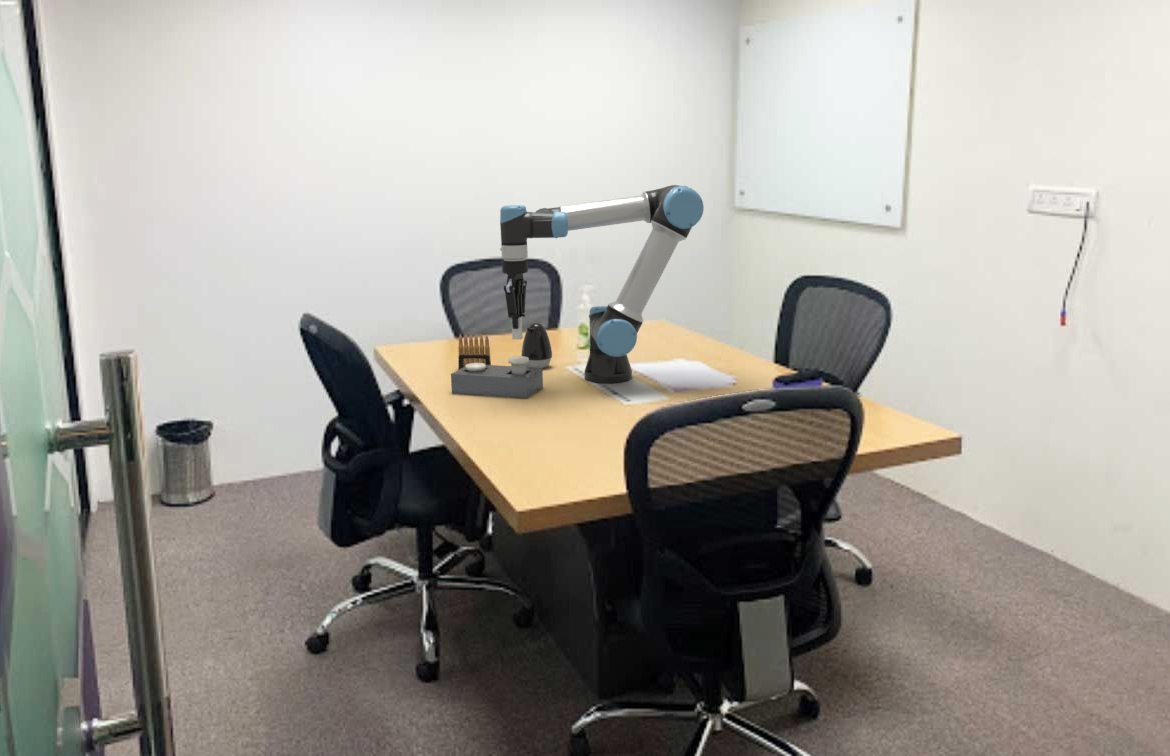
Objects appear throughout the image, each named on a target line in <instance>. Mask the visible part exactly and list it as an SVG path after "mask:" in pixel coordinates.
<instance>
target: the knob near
mask: <svg viewBox="0 0 1170 756" xmlns="http://www.w3.org/2000/svg"><path fill="white" fill-rule="evenodd" d="M528 362H529V358H528V357H525V356H520V355H518V356H517V355H516V356H510V357H508V364H510V366H511V370H512V374H514V375H526V367H527V366H526V363H528Z"/></svg>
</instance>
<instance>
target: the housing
mask: <svg viewBox="0 0 1170 756" xmlns="http://www.w3.org/2000/svg"><path fill="white" fill-rule="evenodd" d="M543 369H544V368H531V367H527V366H526V375H514V374H512V370H511V365H497V364H496V365H495V364H491V365H486V369H485V370H483V372H469V371H468V370H466V366H465V367H463V368H461V369H459V370H458V369H457V370H456V371H453V372H452V373H450V384H451V385H450V386H451V394H456V395H471V396H483V397H486V396H487V397H498V398H513V399H528V398H530V397H531V396H532V395H534V394H536V393H537V392H539V391H540V390H541V389H542V388H544V379H543V378H544V374H543V372H544V371H543Z"/></svg>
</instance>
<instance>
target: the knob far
mask: <svg viewBox="0 0 1170 756" xmlns="http://www.w3.org/2000/svg"><path fill="white" fill-rule="evenodd" d="M485 369H486V365H485V364H484V363H475V362H474V363H470V364H466V370H468V371H469V372H483V370H485Z"/></svg>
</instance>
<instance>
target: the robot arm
mask: <svg viewBox="0 0 1170 756" xmlns="http://www.w3.org/2000/svg"><path fill="white" fill-rule="evenodd" d="M499 211H500V212H499V214H500V215H499V216H500V218H499V219H500V220H499V225H500V228H499V229H500V242H501V244H500V248H499V249H500V251H501V258H502V259H503V260H502V261H501V271H502V273H503V274H506V275H507V278H506V285H504V286H503V291H504V294H505V301H506V303H505V304H506V308H507V309H506V310H507V317H508V318H509V319H511V338H512V340H518V341H519V340H520V341H521V340H524V338H523V318H524V317H525V316H526V314H525V312H526V295H527V294H526V292H527V285H528V281H527V280H525V279H524V274H527V273H528V271H529V261H528V260H527V258H529V254H528V253H529V252H528V241H527V240H528V239H558V238H566V237H567V236H568V233H569V231H577V230H584V229H592V228H597V227H598V228H599V227H600V228H601V227H606V226H612V225H621V224H626V223H627V224H629V223H635V222H642V221H643V222H645V223H647V224H651V226H652V230H651V231H650V233H649V236H648V237H647V239H646V241H645V243H644V245H643V247H642V249H641V251H640V252H639V255H638V257H637V259H636V260H635V263H634V264H633V267H632V268H631V270H630V273H629V274H628V275H627V276H628V277H627V279H626V281H625V282H624V284H623V286H622V289H621V290H620V292H619V294H618V296H617V298H616V300H615V301H612V302H609V303H608V304H607V305H601V306H600V305H599V306H592V307H590V309H589V315H588V318H589V355H588V358H587V362H586V365H585V368H584V379H585V380H587V381H589V382H593V383H599V384H601V383H604V384H606V383H607V384H613V383H623V382H626V381H629V380H631V379H632V378H633V369H632V366H631V364H630V361H629V358H628V355H629V354H630V352H631V351H632V350H633V349H634V348H635V346H636V345H637V339H638V332H639V331H640V329H641V327H642V325H643V323H644V319H643V316H642V315H643V312H644V309H646V305H648V303H649V301H650V298H651V296H652V294H653V292H654V290H655V288H656V287H657V285H658V283H659V281H660V279H661V277H662V275H663V273H664V271H665V269H666V267H667V266H668V263H669V262H670V260H671V257H672V255H673V253H674V252H675V249H676V248H677V247H678V244H679V242H682V241H684V240H686V239H687V238H688V236H689V234H690V232H691V230H692V228H693V227H694V226H696V225H697V224H698V223H699V222H700V221H701V219H702V217H703V214H704V202H703V199H702V197H701V195H700V194H699V192H697V191H696V190H695V189H693V188H692V187H690V186H687V185H677V184H674V185H673V184H672V185H669V186H668V185H667V186H664V187H661V188H658V189H657V188H656V189H653V190H646V191H643V192H642V193H641V195H635V196H628V197H620V198H614V199H606V200H599V201H593V202H585V203H577V204H571V205H570V204H569V205H564V206H557V207H550V208H547V207H543V208H539V209H537V210H535V211H534V212H532V211H527V207H526V206H525V205H521V204H520V205H516V204H513V205H512V204H511V205H509V204H508V205H503V206H502V207H501V208H500V210H499Z"/></svg>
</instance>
